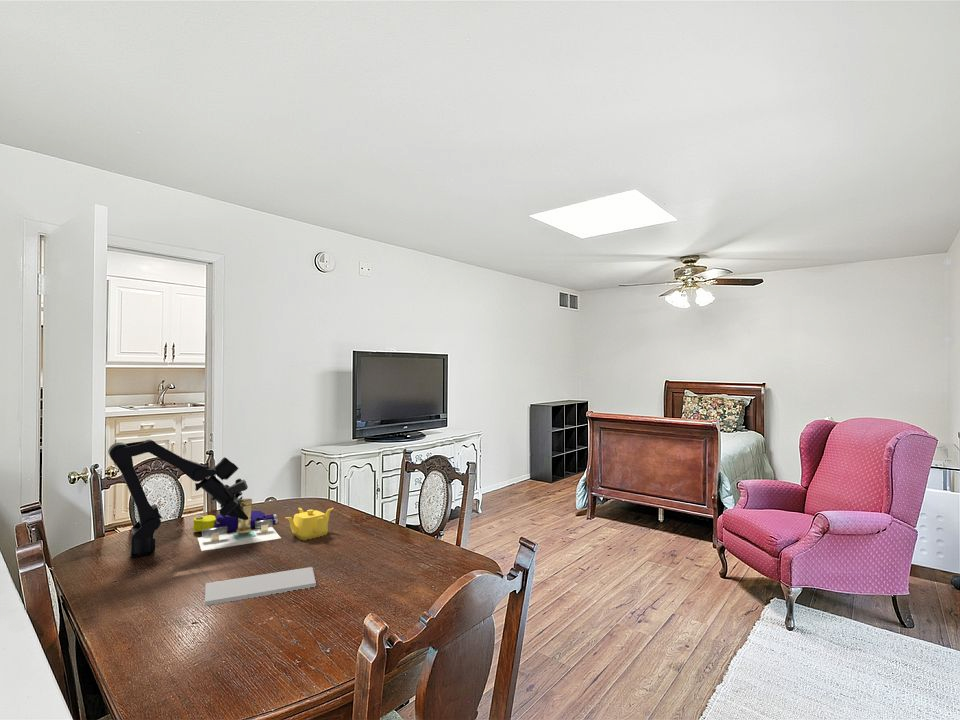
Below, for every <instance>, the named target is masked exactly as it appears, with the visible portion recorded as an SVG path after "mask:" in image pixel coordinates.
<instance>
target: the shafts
mask: <svg viewBox="0 0 960 720" xmlns="http://www.w3.org/2000/svg"><path fill="white" fill-rule="evenodd" d="M273 526H274V524H273V521H272V519H269V520H261V521H255V528H254V529H259V531H260V532H261V533H267V532H268V527H273ZM227 533H228V532H227V526H226V527H219V528H212V529H205V530H202V531H201V537H208V536H210V540H211V542H216V541H219V535H222V534H227Z"/></svg>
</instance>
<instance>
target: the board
mask: <svg viewBox="0 0 960 720" xmlns="http://www.w3.org/2000/svg"><path fill="white" fill-rule="evenodd" d="M236 532H237V531H233V532H229V533H228V532H227V534H222V535H219V541H216V542H211V540H210V536H208V537H202V536H200V537H197V541H198V544H199V547H200V551H201V552H204V551H209V550H216V549H223V548H230V547H235V546H241V545H247V544H255V543H260V542H267V541H272V540H278V539H282V537H281V536H280V535H279V534H278V532H277V531H276V529H274V527H273V526H269V527H268V532H267V533H261V532H260V531H259V528H253V529H251V532H250V533H248V534H237V533H236Z"/></svg>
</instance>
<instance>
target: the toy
mask: <svg viewBox="0 0 960 720" xmlns="http://www.w3.org/2000/svg"><path fill="white" fill-rule="evenodd" d="M269 519H272V521H273V525H276V524H278V523H279V519H278V518H277V514H276V513H275V514H273V513H272V514H266V513H265V512H262V510H251V524H250V527H251V529H256V528H255V521H261V520H269ZM226 526H227V533H228V532H229V533H230V532H236V531H237V528H238V518H236V517H232V516H227V515H226V516H225V517H223V516H222V515H220V514H216V516H215V515H213V514H207V515H204V516H203V515H197V516H195V517H193V525H192V530H193V531H194V532H197V533H200V532H202V530H205V529H212V528H219V527H226Z"/></svg>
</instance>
